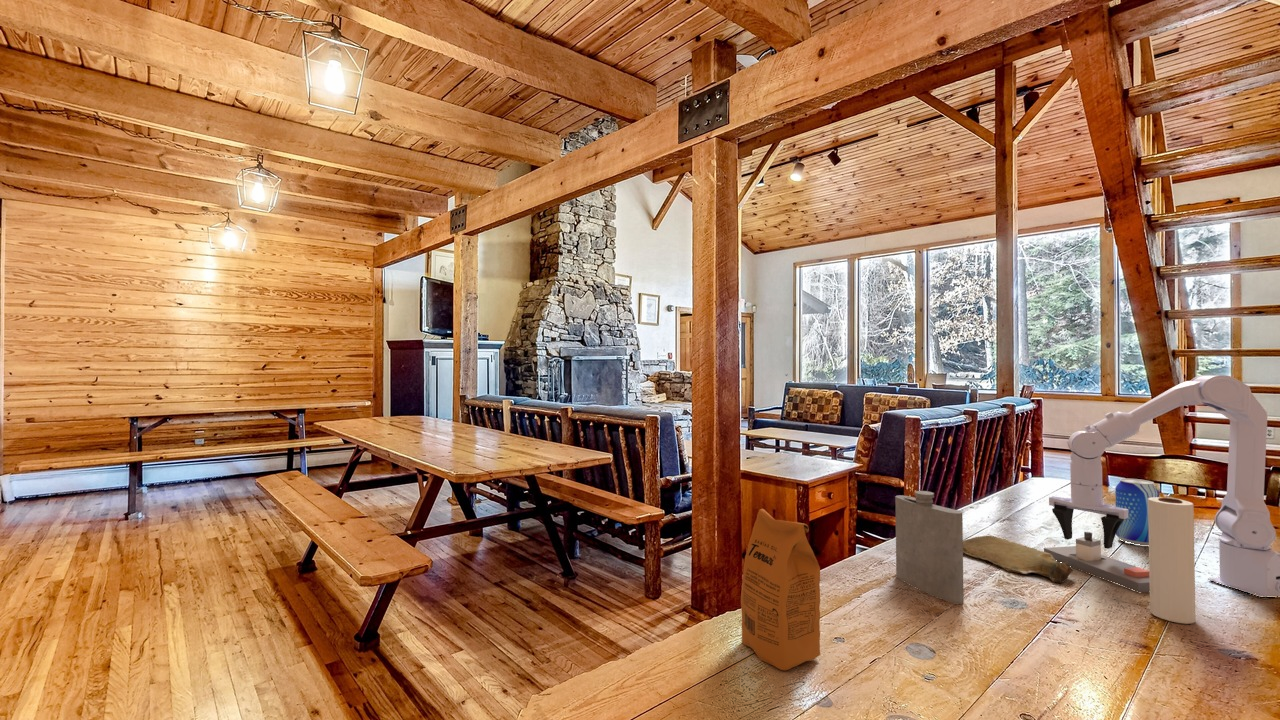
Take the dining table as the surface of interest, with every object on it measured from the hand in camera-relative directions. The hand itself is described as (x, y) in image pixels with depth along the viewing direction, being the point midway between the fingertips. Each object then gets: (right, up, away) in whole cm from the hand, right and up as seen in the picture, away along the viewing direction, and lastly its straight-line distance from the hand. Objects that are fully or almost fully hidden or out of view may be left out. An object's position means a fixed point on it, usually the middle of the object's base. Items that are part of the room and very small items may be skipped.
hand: (1087, 543), depth 127 cm
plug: (0, -5, 0) cm, 5 cm away
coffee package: (-80, -5, -37) cm, 89 cm away
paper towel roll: (-5, -5, -26) cm, 27 cm away
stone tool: (-17, -6, +2) cm, 18 cm away
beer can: (+26, -5, +16) cm, 31 cm away
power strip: (+1, -5, -4) cm, 6 cm away
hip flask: (-44, -6, -13) cm, 46 cm away
